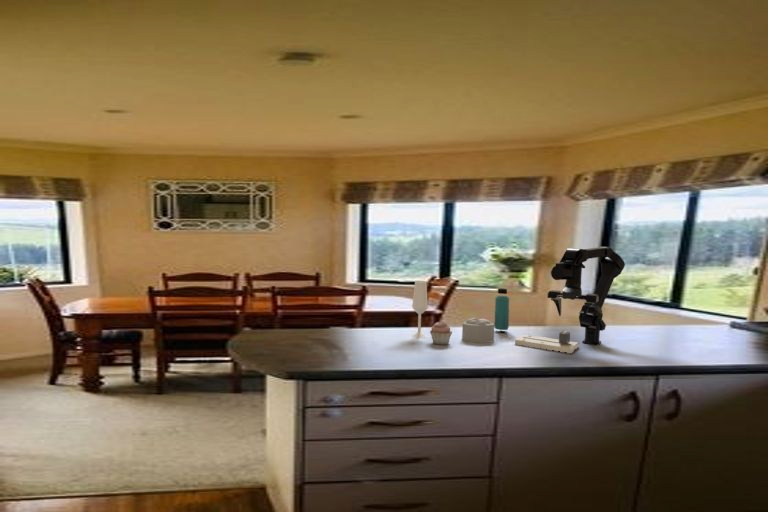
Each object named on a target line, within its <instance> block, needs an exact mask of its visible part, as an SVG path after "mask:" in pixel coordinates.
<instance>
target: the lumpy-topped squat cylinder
mask: <svg viewBox="0 0 768 512" xmlns="http://www.w3.org/2000/svg"><path fill="white" fill-rule="evenodd" d="M461 330H462V333H461V337H462V338H461V340H462V341H463V342H468V343H490V342H494V341H495V324H494V323H493V322H491V320H488V319H486V318H479V319H478V318H477V317H472V318H468V319H467V320H466V321H465V320H464V321H463V323H462V329H461Z"/></svg>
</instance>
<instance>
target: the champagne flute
mask: <svg viewBox="0 0 768 512" xmlns="http://www.w3.org/2000/svg"><path fill="white" fill-rule="evenodd" d="M413 288H414V290H413V298H412V305H411V306H412V309H413V311H415V313H417V315H418V316H417V332H415V333H414V334H413V333H412V334H411V338H415V339H425V338H427V335H426V334H425V333H423V332H422V331H421V328H422V314H424V313H425V312H426V311H427V310H428V308H429V304H428V290H427V289H428V288H427V280H426V281H425V280H415V281H414V287H413Z"/></svg>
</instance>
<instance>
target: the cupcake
mask: <svg viewBox="0 0 768 512" xmlns="http://www.w3.org/2000/svg"><path fill="white" fill-rule="evenodd" d="M429 333H430V335H431V339H432V343H433V344H434V345H438V346H445V345H448V344H449V343H450V340H451V336H452V335H453V331H451V327H450V326H449V325H448V324H447V322H446V321H445V320H443V319H439V321H437V322H435V323H434V324H433V326H431V329H430V330H429Z"/></svg>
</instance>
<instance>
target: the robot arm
mask: <svg viewBox="0 0 768 512" xmlns="http://www.w3.org/2000/svg"><path fill="white" fill-rule="evenodd" d="M595 258H596V259H597V258H598V262H599V263H600V269H601V275H600V278H599V281H598V282H597V285H596V288H595V289H594V292H593V293H587V294H583V293H582V291H583V290H582V275H583V270H582V269H585V268H586V265H584V264H583V263H585V262H587V261H588V260H589V259H595ZM624 268H625V261H624V259H623V258H622V256H621V255H619V254H618V253H616V252H615V251H614V250H613V249H612V247H610V246H599V247H591V248H586V249H585V248H584V249H583V248H572V247H568V248H566V249H565V252H564V254H563V255H562V257H561V259H560V261H559V262H555V265H554V266H553V267H552V268H551V271H550V275H551V277H552V279H553V280H555V281H565V284H564V287H563V289H562V290H556V289H555V290H553V289H552V290H549V291H548V292H547V299H550V300H551V301H553V303H554V305H555V306H556V309H557V314H558V316H559V317H561V315H562V300H563V299H564V300H573V301H574V300H584V304H583V305H582V306H581V309H580V311H579V312H578V313H579V315H578V320H579V324H580V327H581V328H584V339H583V340H582V342H581V343H582V344H590V345H595V346H599V345H600V344H601V343H602V340H600V335H601V334H600V332H603V331H605V330H606V327H607V324H606V323H605V321H604V320H603V316H604V314H603V310H602V309H603V305H604V303H605V300H606V299H607V297H608V293H609V292H610V289H611V287H612V285H613V283H614V280H615V278H617V277H618V276H619V275H621V274H622V272H623V270H624Z"/></svg>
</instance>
